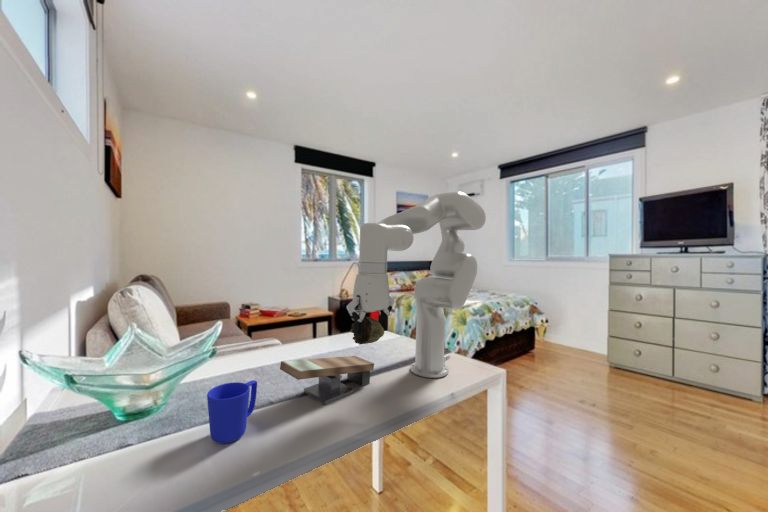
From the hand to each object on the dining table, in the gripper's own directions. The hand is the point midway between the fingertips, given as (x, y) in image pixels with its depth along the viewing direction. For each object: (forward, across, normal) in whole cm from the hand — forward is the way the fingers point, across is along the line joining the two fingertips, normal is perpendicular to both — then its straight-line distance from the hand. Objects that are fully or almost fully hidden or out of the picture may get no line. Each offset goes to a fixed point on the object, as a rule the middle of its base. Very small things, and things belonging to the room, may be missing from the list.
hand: (371, 332), depth 86 cm
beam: (+12, +6, -10) cm, 17 cm away
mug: (+19, +32, -10) cm, 38 cm away
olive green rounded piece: (0, -4, 0) cm, 4 cm away
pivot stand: (+18, +2, -10) cm, 21 cm away
